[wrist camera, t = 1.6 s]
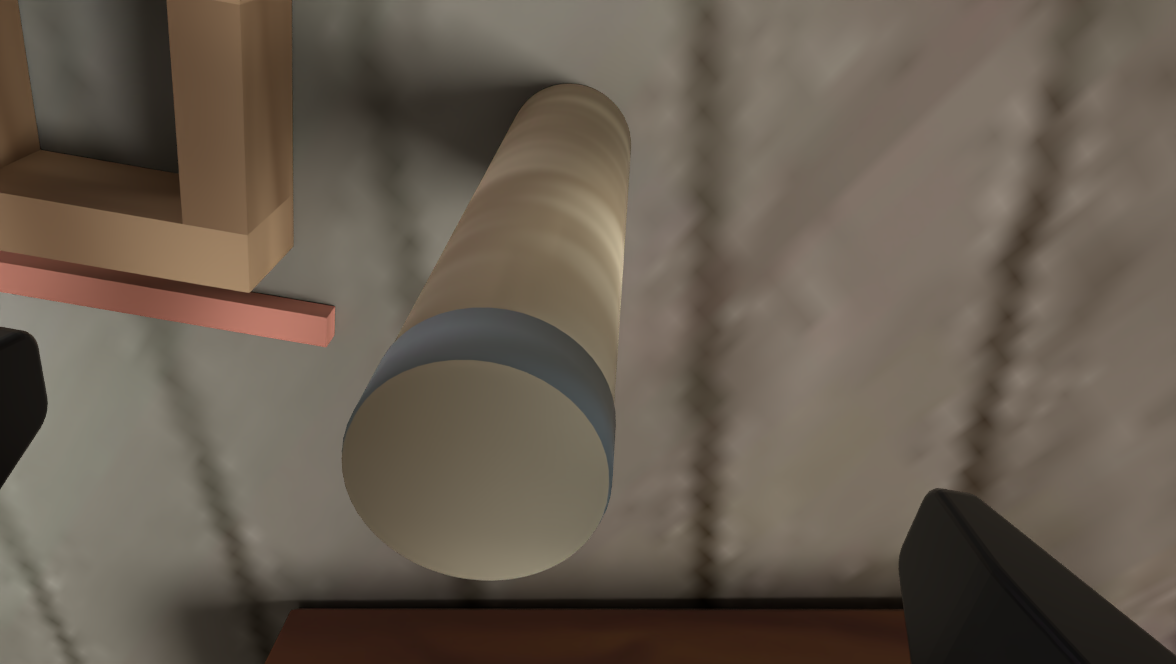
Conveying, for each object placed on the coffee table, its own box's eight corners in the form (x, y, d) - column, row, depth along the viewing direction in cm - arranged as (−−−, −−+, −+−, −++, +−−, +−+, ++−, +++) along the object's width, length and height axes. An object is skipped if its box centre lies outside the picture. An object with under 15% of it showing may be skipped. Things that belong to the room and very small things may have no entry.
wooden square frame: (342, -75, 17) (296, -66, 14) (334, 335, 21) (297, 389, 19) (-72, -149, 16) (-182, -152, 14) (8, 279, 21) (-68, 328, 19)
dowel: (642, 94, 18) (634, 389, 8) (619, 213, 19) (588, 601, 9) (516, 71, 18) (341, 339, 8) (502, 192, 19) (336, 559, 9)
